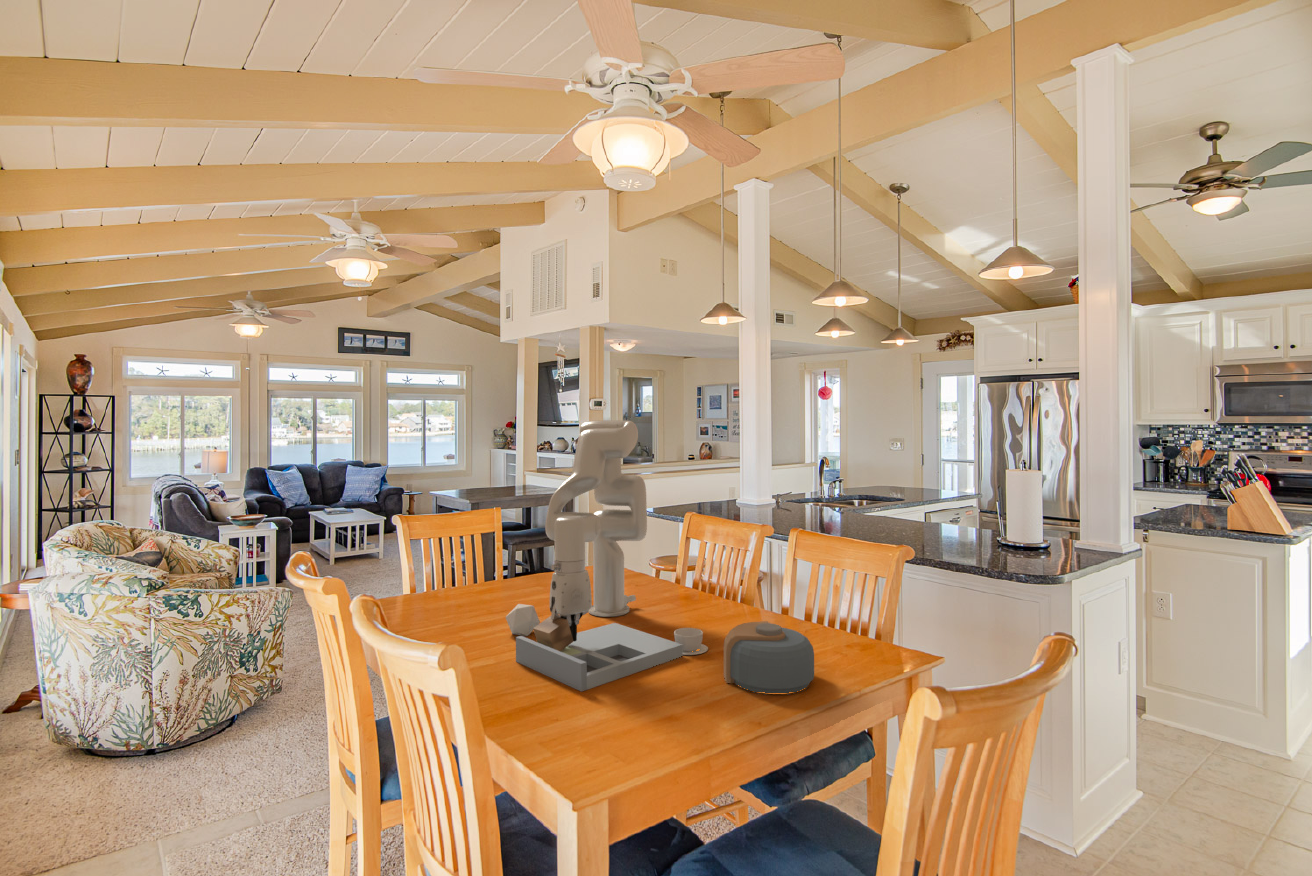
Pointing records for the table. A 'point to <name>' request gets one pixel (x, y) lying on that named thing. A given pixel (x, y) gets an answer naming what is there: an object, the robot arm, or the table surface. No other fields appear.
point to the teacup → (690, 640)
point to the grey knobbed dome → (768, 658)
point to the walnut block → (554, 633)
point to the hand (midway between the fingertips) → (570, 640)
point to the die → (522, 619)
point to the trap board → (598, 655)
